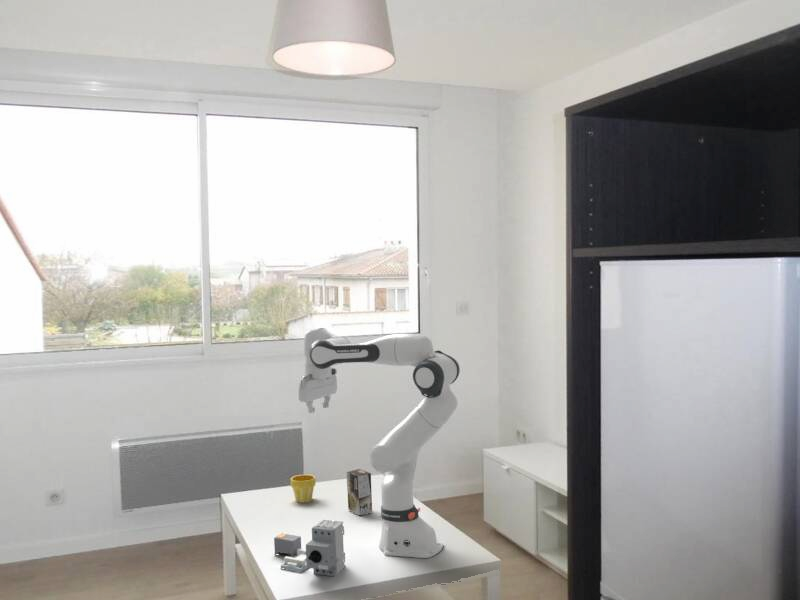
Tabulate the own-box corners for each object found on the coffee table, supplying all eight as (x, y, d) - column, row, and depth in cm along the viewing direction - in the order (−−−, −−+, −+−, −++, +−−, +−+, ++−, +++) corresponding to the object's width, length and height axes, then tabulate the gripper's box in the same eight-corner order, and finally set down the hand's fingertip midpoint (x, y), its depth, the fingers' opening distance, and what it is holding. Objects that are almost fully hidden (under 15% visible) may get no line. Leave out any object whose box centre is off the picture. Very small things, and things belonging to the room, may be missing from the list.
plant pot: (306, 494, 320) (305, 472, 319) (321, 499, 312) (320, 477, 312) (286, 500, 313) (285, 478, 312) (300, 506, 305) (299, 482, 305)
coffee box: (373, 513, 293) (371, 473, 292) (359, 516, 290) (357, 476, 289) (361, 507, 301) (359, 468, 300) (347, 510, 297) (346, 471, 296)
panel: (324, 556, 251) (324, 547, 251) (301, 572, 238) (300, 563, 238) (305, 553, 255) (304, 544, 254) (280, 568, 242) (280, 559, 242)
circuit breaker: (304, 581, 231) (302, 534, 231) (325, 563, 245) (323, 519, 244) (326, 584, 229) (324, 537, 228) (345, 566, 242) (343, 521, 241)
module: (301, 553, 254) (300, 536, 254) (293, 558, 250) (293, 540, 250) (282, 550, 258) (281, 532, 258) (274, 554, 254) (274, 537, 254)
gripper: (308, 377, 258) (310, 416, 258) (339, 368, 276) (340, 405, 277) (293, 376, 261) (295, 415, 261) (325, 368, 279) (326, 404, 279)
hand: (318, 410), depth 269 cm, fingers open, 8 cm apart
